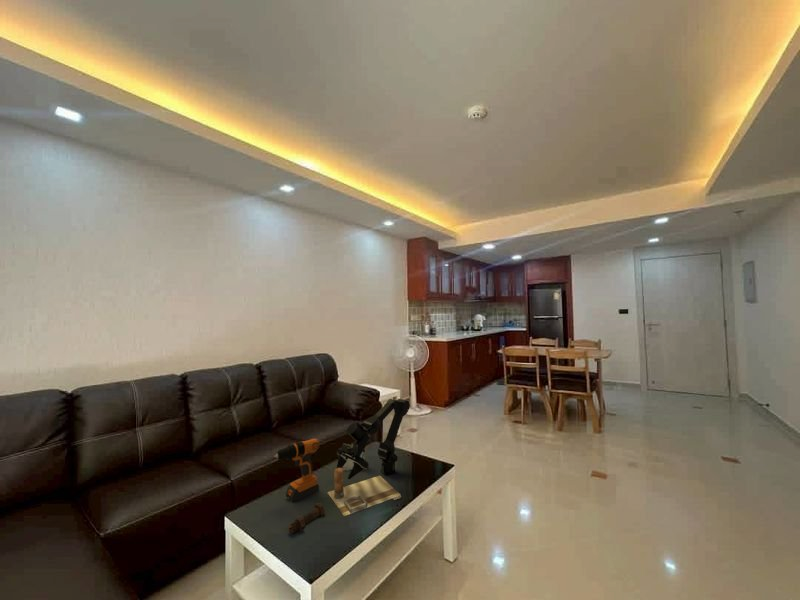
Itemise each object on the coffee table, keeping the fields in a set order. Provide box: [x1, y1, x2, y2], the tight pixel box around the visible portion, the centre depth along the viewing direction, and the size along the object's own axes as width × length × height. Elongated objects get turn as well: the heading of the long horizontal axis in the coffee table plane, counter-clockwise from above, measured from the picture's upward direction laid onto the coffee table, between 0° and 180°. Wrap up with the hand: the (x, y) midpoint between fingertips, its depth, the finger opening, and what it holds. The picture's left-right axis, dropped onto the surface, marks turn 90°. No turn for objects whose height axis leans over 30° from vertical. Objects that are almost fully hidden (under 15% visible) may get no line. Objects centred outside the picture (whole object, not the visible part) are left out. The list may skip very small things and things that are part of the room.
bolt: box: [288, 502, 326, 534], centre depth 133 cm, size 6×5×15 cm
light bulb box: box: [342, 452, 365, 471], centre depth 180 cm, size 11×7×11 cm, turn 84°
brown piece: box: [333, 467, 344, 499], centre depth 151 cm, size 4×4×12 cm
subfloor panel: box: [327, 475, 402, 517], centre depth 153 cm, size 28×21×3 cm
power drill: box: [273, 438, 320, 502], centre depth 153 cm, size 22×7×25 cm, turn 134°
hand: (342, 475), depth 153 cm, fingers open, 9 cm apart
